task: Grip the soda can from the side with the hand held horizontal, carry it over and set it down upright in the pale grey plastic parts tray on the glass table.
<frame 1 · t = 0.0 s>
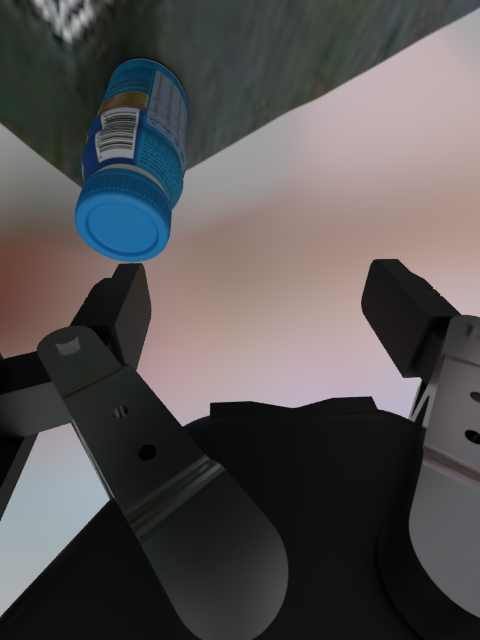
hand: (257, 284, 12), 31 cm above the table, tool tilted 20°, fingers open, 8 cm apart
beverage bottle: (149, 101, 35), on the table
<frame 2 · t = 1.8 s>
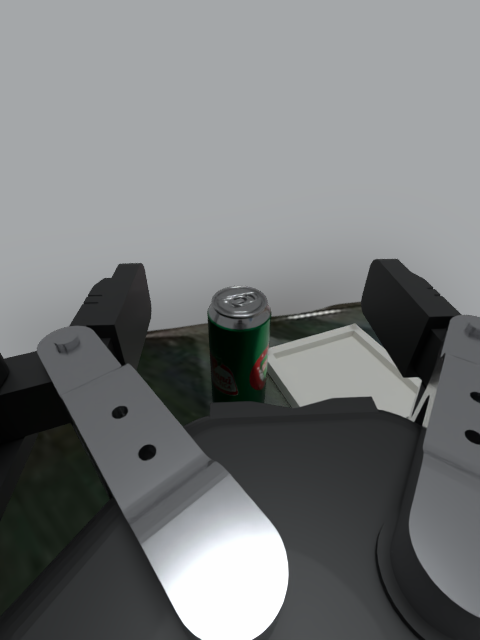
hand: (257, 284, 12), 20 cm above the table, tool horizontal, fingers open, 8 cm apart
soda can: (238, 403, 33), on the table
tray: (342, 383, 34), on the table
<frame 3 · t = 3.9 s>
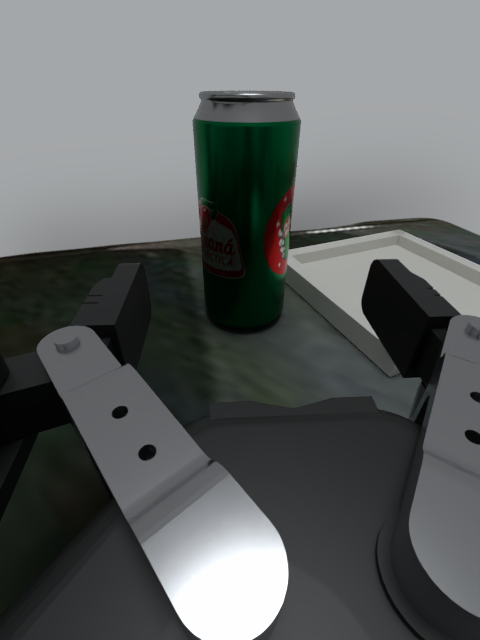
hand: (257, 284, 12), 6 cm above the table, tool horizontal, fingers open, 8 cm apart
soda can: (244, 313, 22), on the table
tray: (393, 292, 24), on the table
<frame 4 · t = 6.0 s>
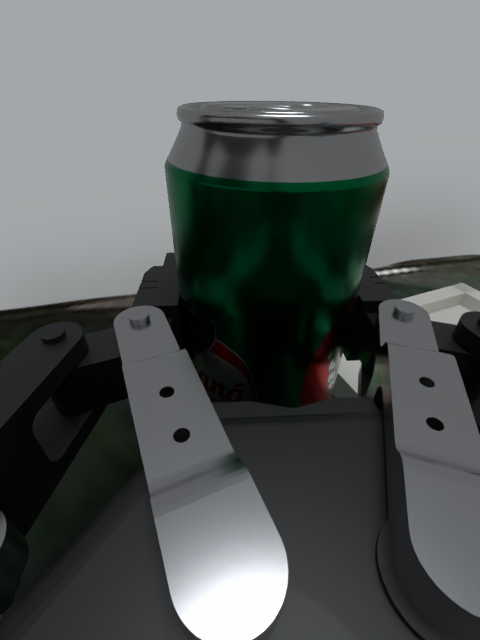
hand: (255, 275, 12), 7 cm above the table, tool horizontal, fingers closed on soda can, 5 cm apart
soda can: (256, 441, 14), on the table, touching gripper
tray: (475, 395, 16), on the table
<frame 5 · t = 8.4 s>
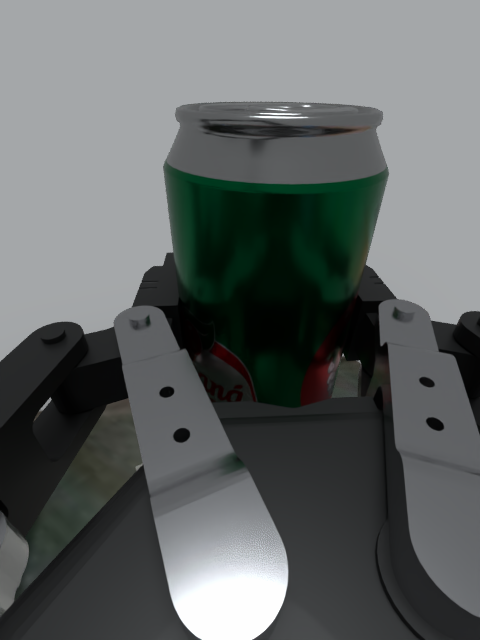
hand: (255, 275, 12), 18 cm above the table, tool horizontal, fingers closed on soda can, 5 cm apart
soda can: (255, 442, 14), point 11 cm above the table, touching gripper
when the fingers open (8 cm above the table, at t = 10.8 s): soda can stays where it is, resting on tray.
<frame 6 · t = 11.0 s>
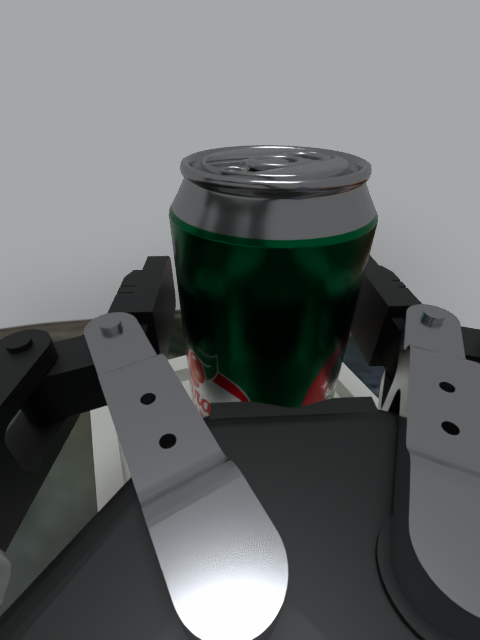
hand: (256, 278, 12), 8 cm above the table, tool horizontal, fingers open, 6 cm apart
soda can: (256, 458, 15), resting on tray
tray: (255, 460, 15), on the table
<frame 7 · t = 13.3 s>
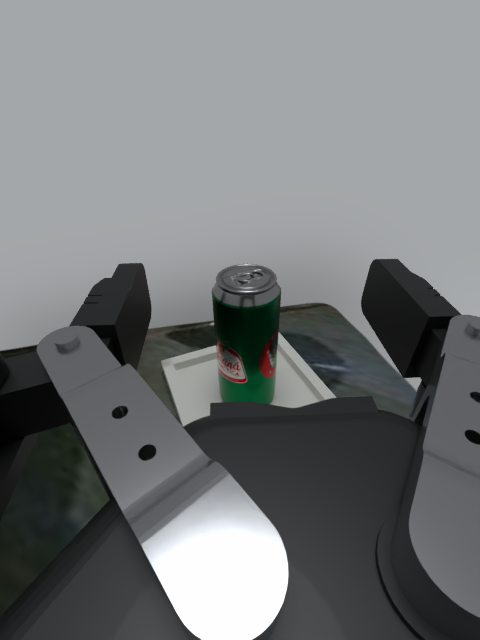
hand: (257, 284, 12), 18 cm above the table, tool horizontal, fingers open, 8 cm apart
soda can: (247, 394, 30), resting on tray
tray: (246, 396, 31), on the table
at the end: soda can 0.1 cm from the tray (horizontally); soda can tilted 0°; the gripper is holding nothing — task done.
